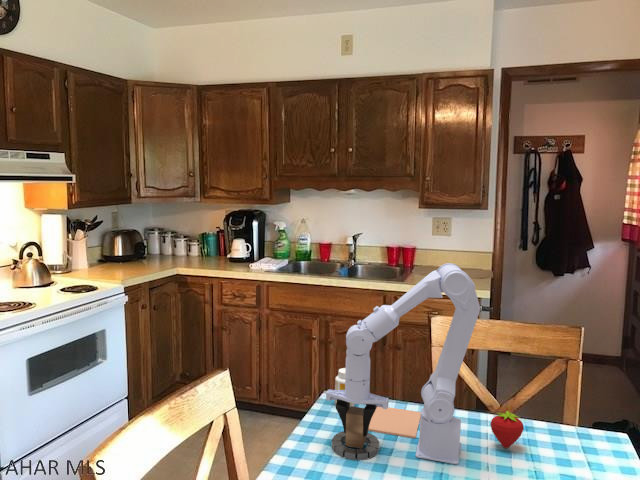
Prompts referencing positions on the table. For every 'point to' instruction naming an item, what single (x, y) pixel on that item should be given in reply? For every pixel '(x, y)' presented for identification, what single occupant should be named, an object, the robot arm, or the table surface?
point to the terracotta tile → (395, 422)
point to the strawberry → (506, 428)
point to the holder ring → (355, 453)
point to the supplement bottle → (341, 382)
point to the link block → (355, 427)
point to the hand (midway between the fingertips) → (356, 432)
